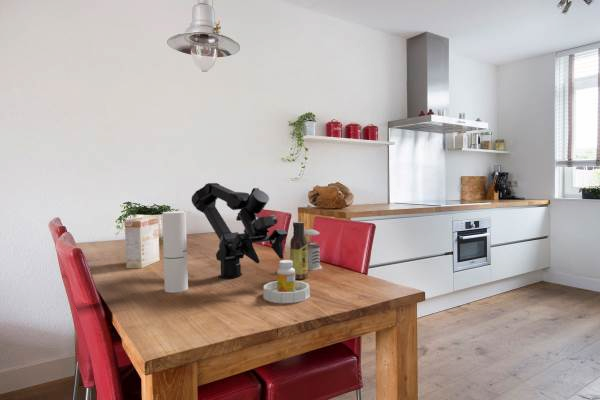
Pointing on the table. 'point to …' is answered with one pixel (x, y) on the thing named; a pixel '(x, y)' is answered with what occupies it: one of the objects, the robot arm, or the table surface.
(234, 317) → the table surface
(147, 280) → the table surface
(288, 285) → the supplement bottle
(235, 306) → the table surface
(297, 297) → the dish
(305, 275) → the sauce bottle
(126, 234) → the coffeecake box
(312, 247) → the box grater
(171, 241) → the cylindrical container
